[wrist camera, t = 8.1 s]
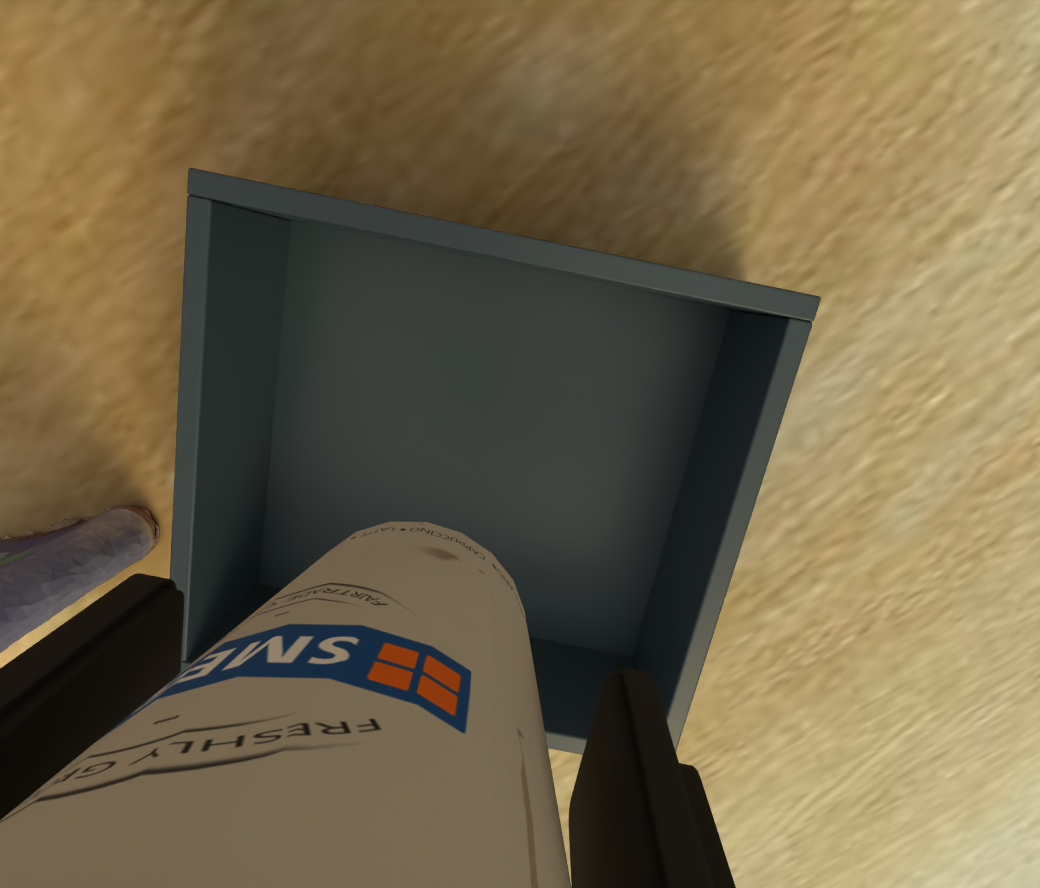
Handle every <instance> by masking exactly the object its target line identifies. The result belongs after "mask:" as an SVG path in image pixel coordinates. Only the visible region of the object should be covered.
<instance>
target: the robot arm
mask: <svg viewBox="0 0 1040 888" xmlns="http://www.w3.org/2000/svg"><path fill="white" fill-rule="evenodd" d="M184 601H185V599H184V593H183V592H182V591H180V590H177V586H176V584H175V582H174V581H173V580H171V579H166V578H160V577H155V576H150V575H145V574H134V575H132V576H130V577H129V578H128V579H126V580H125V581H123V582H122V583H121V584H119V585H118V586H116V587H115V588H114V589H112V590H111V591H109V592H108V593H106V594H105V595H104V596H102V597H101V598H99V599H98V600H97V601H95V602H94V603H92V604H91V605H90V606H88V607H87V608H85V609H84V610H82V611H81V612H80V613H78V614H77V615H75V616H74V617H73V618H71V619H70V620H68V621H67V622H65V623H64V624H63V625H61V626H60V627H58V628H57V629H56V630H54V631H53V632H51V633H50V634H49V635H47V636H46V637H44V638H43V639H41V640H40V641H39V642H37V643H36V644H34V645H33V646H32V647H30V648H29V649H27V650H26V651H25V652H23V653H22V654H20V655H19V656H17V657H16V658H15V659H13V660H12V661H10V662H9V663H8V664H6V665H5V666H3V667H2V668H0V820H1V819H2V818H4V817H5V816H6V815H7V814H9V813H10V812H11V811H12V810H13V809H15V808H16V807H17V806H18V805H20V804H21V803H22V802H23V801H24V800H26V799H27V798H28V797H29V796H31V795H32V794H33V793H34V792H35V791H37V790H38V789H39V788H40V787H42V786H43V785H44V784H45V783H46V782H48V781H49V780H50V779H51V778H53V777H54V776H55V775H56V774H57V773H59V772H60V771H61V770H62V769H64V768H65V767H66V766H67V765H68V764H70V763H71V762H72V761H73V760H75V759H76V758H77V757H78V756H79V755H81V754H82V753H83V752H84V751H86V750H87V749H88V748H89V747H90V746H92V745H93V744H94V743H95V742H97V741H98V740H99V739H100V738H101V737H103V736H104V735H105V734H106V733H108V732H109V731H110V730H111V729H112V728H114V727H115V726H116V725H117V724H119V723H120V722H121V721H122V720H123V719H125V718H126V717H127V716H128V715H130V714H131V713H132V712H133V711H134V710H136V709H137V708H138V707H139V706H141V705H142V704H143V703H144V702H145V701H147V700H148V699H149V698H150V697H152V696H153V695H154V694H155V693H156V692H158V691H159V690H160V689H161V688H162V687H164V686H165V685H166V684H167V683H169V682H170V681H171V680H172V679H173V678H175V677H176V676H177V675H178V674H180V673H181V655H182V637H183V619H184ZM569 841H570V861H571V882H572V888H736V887H735V884H734V881H733V878H732V875H731V872H730V868H729V865H728V862H727V859H726V856H725V853H724V850H723V847H722V844H721V840H720V837H719V834H718V831H717V828H716V825H715V822H714V819H713V815H712V812H711V809H710V806H709V803H708V800H707V797H706V794H705V791H704V787H703V784H702V781H701V778H700V776H699V774H698V771H697V770H696V769H695V768H694V767H693V766H691V765H685V764H680V763H679V762H678V759H677V755H676V752H675V748H674V745H673V741H672V738H671V734H670V731H669V727H668V724H667V720H666V717H665V713H664V710H663V706H662V703H661V699H660V696H659V692H658V689H657V685H656V682H655V678H654V676H653V674H652V673H648V672H643V671H638V670H633V669H628V668H623V667H620V668H618V670H617V672H616V674H615V675H612V674H606V675H605V677H604V680H603V683H602V686H601V690H600V694H599V698H598V701H597V705H596V709H595V712H594V716H593V720H592V723H591V727H590V731H589V734H588V738H587V742H586V745H585V749H584V753H583V756H582V760H581V764H580V767H579V771H578V775H577V779H576V782H575V786H574V790H573V793H572V797H571V802H570V809H569Z"/></svg>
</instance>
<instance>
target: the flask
mask: <svg viewBox="0 0 1040 888" xmlns="http://www.w3.org/2000/svg"><path fill="white" fill-rule="evenodd" d="M51 526H52V525H51ZM155 527H156V535H155V539H154V533H155ZM158 542H159V527H158V526H157V525H156V523H155V521H154V520H152V517H151V516H150V513H149V511H148V510H146V509H141V508H137V507H131V506H130V507H126V506H122V507H118V508H117V507H115V508H112V507H110V508H109V509H105V510H104V512H103V513H101V514H99V515H97V516H94V517H88V519H87V518H83V519H80V520H79V519H78V518H74V519H71V520H66V519H64V520H63V521H62V522H57V523H55V524H54V525H53V526H52V528H48V530H46V531H45V532H44V533H36V534H35V533H34V532H33V531H32V530H31V529H30V532H29V533H27V534H26V535H24V536H22V537H18V538H12V537H8V536H6V537H4V538H0V653H1V652H3V651H4V650H5V649H7V648H8V647H9V646H10V645H11V644H12V643H14V642H16V641H17V640H19V639H20V638H21V637H23V636H24V635H25V634H27V633H28V632H30V631H32V630H34V629H35V628H37V627H38V626H40V625H42V624H43V623H45V622H46V621H48V620H49V619H50V618H52V617H53V616H54V615H56V614H57V613H59V612H60V611H62V610H63V609H65V608H66V607H67V606H69V605H71V604H73V603H75V602H76V601H77V600H78V599H80V598H81V597H82V596H84V595H85V594H87V593H88V592H90V591H91V590H93V589H94V588H96V587H97V586H99V585H101V584H102V583H104V582H106V581H107V580H109V579H111V578H112V577H114V576H115V575H116V574H118V573H119V572H120V571H122V570H123V569H125V568H126V567H128V566H130V565H131V564H133V563H135V562H137V561H139V560H141V559H142V558H144V557H145V556H146V555H147V554H148V553H149V552H150V551H151V550H152V549H153V548H154V546H155V544H157V543H158Z"/></svg>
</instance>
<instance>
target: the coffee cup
mask: <svg viewBox="0 0 1040 888" xmlns="http://www.w3.org/2000/svg"><path fill="white" fill-rule="evenodd" d="M0 888H571V883H570V877H569V871H568V865H567V859H566V853H565V847H564V842H563V836H562V830H561V824H560V818H559V812H558V806H557V800H556V794H555V788H554V782H553V777H552V771H551V765H550V759H549V753H548V747H547V741H546V735H545V729H544V723H543V717H542V712H541V706H540V700H539V694H538V688H537V682H536V676H535V670H534V664H533V658H532V653H531V647H530V641H529V635H528V629H527V623H526V617H525V611H524V608H523V606H522V603H521V600H520V597H519V594H518V592H517V589H516V586H515V583H514V581H513V579H512V578H511V577H510V575H509V574H508V573H507V572H506V570H505V569H504V568H503V567H502V565H501V564H500V563H499V562H498V560H497V559H496V558H495V557H494V555H493V554H492V553H491V552H489V551H488V550H486V549H485V548H483V547H482V546H480V545H479V544H478V543H476V542H475V541H473V540H472V539H470V538H469V537H467V536H466V535H464V534H463V533H461V532H457V531H454V530H451V529H448V528H444V527H441V526H438V525H435V524H432V523H428V522H387V523H384V524H380V525H377V526H374V527H370V528H367V529H364V530H360V531H357V532H355V533H354V534H353V535H351V536H350V537H348V538H347V539H345V540H344V541H343V542H341V543H340V544H338V545H337V546H336V547H334V548H333V549H331V550H330V551H329V552H327V553H326V554H325V555H324V556H323V557H321V558H320V559H319V560H318V561H316V562H315V563H314V564H313V565H312V566H310V567H309V568H308V569H307V570H305V571H304V572H303V573H302V574H301V575H299V576H298V577H297V578H296V579H294V580H293V581H292V582H291V583H290V584H288V585H287V586H286V587H285V588H283V589H282V590H281V591H280V592H279V593H277V594H276V595H275V596H274V597H272V598H271V599H270V600H269V601H268V602H266V603H265V604H264V605H263V606H261V607H260V608H259V609H258V610H257V611H255V612H254V613H253V614H252V615H250V616H249V617H248V618H247V619H246V620H244V621H243V622H242V623H241V624H239V625H238V626H237V627H236V628H235V629H233V630H232V631H231V632H230V633H228V634H227V635H226V636H225V637H224V638H222V639H221V640H220V641H219V642H217V643H216V644H215V645H214V646H213V647H211V648H210V649H209V650H208V651H206V652H205V653H204V654H203V655H202V656H200V657H199V658H198V659H197V660H195V661H194V662H193V663H192V664H191V665H189V666H188V667H187V668H186V669H184V670H183V671H182V672H181V673H180V674H178V675H177V676H176V677H175V678H173V679H172V680H171V681H170V682H169V683H167V684H166V685H165V686H164V687H162V688H161V689H160V690H159V691H158V692H156V693H155V694H154V695H153V696H152V697H150V698H149V699H148V700H147V701H145V702H144V703H143V704H142V705H141V706H139V707H138V708H137V709H136V710H134V711H133V712H132V713H131V714H130V715H128V716H127V717H126V718H125V719H123V720H122V721H121V722H120V723H119V724H117V725H116V726H115V727H114V728H112V729H111V730H110V731H109V732H108V733H106V734H105V735H104V736H103V737H101V738H100V739H99V740H98V741H97V742H95V743H94V744H93V745H92V746H90V747H89V748H88V749H87V750H86V751H84V752H83V753H82V754H81V755H79V756H78V757H77V758H76V759H75V760H73V761H72V762H71V763H70V764H68V765H67V766H66V767H65V768H64V769H62V770H61V771H60V772H59V773H57V774H56V775H55V776H54V777H53V778H51V779H50V780H49V781H48V782H46V783H45V784H44V785H43V786H42V787H40V788H39V789H38V790H37V791H35V792H34V793H33V794H32V795H31V796H29V797H28V798H27V799H26V800H24V801H23V802H22V803H21V804H20V805H18V806H17V807H16V808H15V809H13V810H12V811H11V812H10V813H9V814H7V815H6V816H5V817H4V818H2V819H1V820H0Z"/></svg>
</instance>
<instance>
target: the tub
mask: <svg viewBox="0 0 1040 888" xmlns="http://www.w3.org/2000/svg"><path fill="white" fill-rule="evenodd" d="M187 192H188V194H189V196H188V197H187V217H186V239H185V261H184V283H183V304H182V326H181V348H180V370H179V391H178V413H177V435H176V457H175V478H174V500H173V522H172V543H171V565H170V579H171V580H173V581H174V582H175V584H176V586H177V590H180V591H182V592H183V593H184V599H185V601H184V619H183V637H182V655H181V672H182V671H183V670H184V669H186V668H187V667H188V666H189V665H191V664H192V663H193V662H194V661H195V660H197V659H198V658H199V657H200V656H202V655H203V654H204V653H205V652H206V651H208V650H209V649H210V648H211V647H213V646H214V645H215V644H216V643H217V642H219V641H220V640H221V639H222V638H224V637H225V636H226V635H227V634H228V633H230V632H231V631H232V630H233V629H235V628H236V627H237V626H238V625H239V624H241V623H242V622H243V621H244V620H246V619H247V618H248V617H249V616H250V615H252V614H253V613H254V612H255V611H257V610H258V609H259V608H260V607H261V606H263V605H264V604H265V603H266V602H268V601H269V600H270V599H271V598H272V597H274V596H275V595H276V594H277V593H279V592H280V591H281V590H282V589H283V588H285V587H286V586H287V585H288V584H290V583H291V582H292V581H293V580H294V579H296V578H297V577H298V576H299V575H301V574H302V573H303V572H304V571H305V570H307V569H308V568H309V567H310V566H312V565H313V564H314V563H315V562H316V561H318V560H319V559H320V558H321V557H323V556H324V555H325V554H326V553H327V552H329V551H330V550H331V549H333V548H334V547H336V546H337V545H338V544H340V543H341V542H343V541H344V540H345V539H347V538H348V537H350V536H351V535H353V534H354V533H355V532H357V531H360V530H364V529H367V528H370V527H374V526H377V525H380V524H384V523H387V522H428V523H432V524H435V525H438V526H441V527H444V528H448V529H451V530H454V531H457V532H461V533H463V534H464V535H466V536H467V537H469V538H470V539H472V540H473V541H475V542H476V543H478V544H479V545H480V546H482V547H483V548H485V549H486V550H488V551H489V552H491V553H492V554H493V555H494V557H495V558H496V559H497V560H498V562H499V563H500V564H501V565H502V567H503V568H504V569H505V570H506V572H507V573H508V574H509V575H510V577H511V578H512V579H513V581H514V583H515V586H516V589H517V592H518V594H519V597H520V600H521V603H522V606H523V608H524V611H525V617H526V623H527V629H528V635H529V641H530V647H531V653H532V658H533V664H534V670H535V676H536V682H537V688H538V694H539V700H540V706H541V712H542V717H543V723H544V729H545V735H546V741H547V747H548V748H550V749H556V750H561V751H566V752H571V753H577V754H582V755H583V753H584V749H585V745H586V742H587V738H588V734H589V731H590V727H591V723H592V720H593V716H594V712H595V709H596V705H597V701H598V698H599V694H600V690H601V686H602V683H603V680H604V677H605V675H606V674H612V675H615V674H616V672H617V670H618V668H620V667H623V668H628V669H633V670H638V671H643V672H648V673H652V674H653V676H654V678H655V682H656V685H657V689H658V692H659V696H660V699H661V703H662V706H663V710H664V713H665V717H666V720H667V724H668V727H669V731H670V734H671V738H672V741H673V745H674V748H675V752H676V749H677V746H678V743H679V740H680V737H681V734H682V730H683V727H684V724H685V721H686V718H687V715H688V712H689V709H690V705H691V702H692V699H693V696H694V693H695V690H696V687H697V684H698V680H699V677H700V674H701V671H702V668H703V665H704V662H705V659H706V655H707V652H708V649H709V646H710V643H711V640H712V637H713V634H714V630H715V627H716V624H717V621H718V618H719V615H720V612H721V609H722V605H723V602H724V599H725V596H726V593H727V590H728V587H729V583H730V580H731V577H732V574H733V571H734V568H735V565H736V562H737V558H738V555H739V552H740V549H741V546H742V543H743V540H744V537H745V533H746V530H747V527H748V524H749V521H750V518H751V515H752V512H753V508H754V505H755V502H756V499H757V496H758V493H759V490H760V487H761V483H762V480H763V477H764V474H765V471H766V468H767V465H768V462H769V458H770V455H771V452H772V449H773V446H774V443H775V440H776V436H777V433H778V430H779V427H780V424H781V421H782V418H783V415H784V411H785V408H786V405H787V402H788V399H789V396H790V393H791V390H792V386H793V383H794V380H795V377H796V374H797V371H798V368H799V365H800V361H801V358H802V355H803V352H804V349H805V346H806V343H807V340H808V336H809V333H810V330H811V327H812V323H811V322H812V321H814V319H815V316H816V312H817V309H818V306H819V303H820V300H821V298H820V297H819V296H814V295H809V294H804V293H800V292H795V291H790V290H785V289H780V288H775V287H770V286H765V285H760V284H756V283H751V282H746V281H741V280H736V279H731V278H726V277H721V276H717V275H712V274H707V273H702V272H697V271H692V270H687V269H682V268H677V267H673V266H668V265H663V264H658V263H653V262H648V261H643V260H638V259H633V258H629V257H624V256H619V255H614V254H609V253H604V252H599V251H594V250H589V249H585V248H580V247H575V246H570V245H565V244H560V243H555V242H550V241H545V240H541V239H536V238H531V237H526V236H521V235H516V234H511V233H506V232H502V231H497V230H492V229H487V228H482V227H477V226H472V225H467V224H462V223H458V222H453V221H448V220H443V219H438V218H433V217H428V216H423V215H418V214H414V213H409V212H404V211H399V210H394V209H389V208H384V207H379V206H374V205H370V204H365V203H360V202H355V201H350V200H345V199H340V198H335V197H330V196H326V195H321V194H316V193H311V192H306V191H301V190H296V189H291V188H287V187H282V186H277V185H272V184H267V183H262V182H257V181H252V180H247V179H243V178H238V177H233V176H228V175H223V174H218V173H213V172H208V171H203V170H199V169H194V168H189V170H188V190H187Z"/></svg>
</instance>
